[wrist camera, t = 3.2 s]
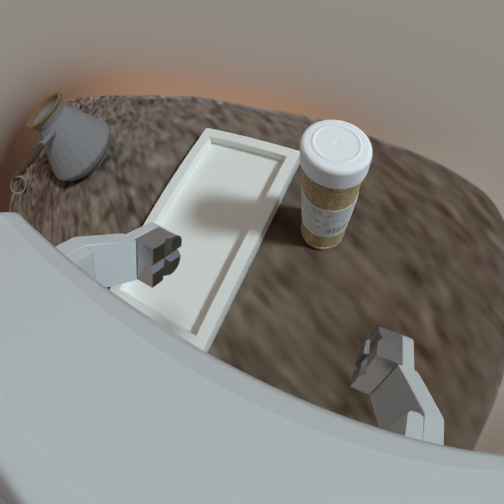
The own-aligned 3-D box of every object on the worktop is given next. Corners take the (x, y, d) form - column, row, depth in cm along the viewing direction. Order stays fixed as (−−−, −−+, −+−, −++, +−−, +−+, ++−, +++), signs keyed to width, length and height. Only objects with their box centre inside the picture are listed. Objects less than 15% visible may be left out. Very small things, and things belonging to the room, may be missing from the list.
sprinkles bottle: (338, 207, 28) (359, 114, 16) (348, 247, 27) (384, 168, 14) (295, 213, 29) (292, 120, 16) (304, 255, 27) (308, 177, 15)
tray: (207, 353, 26) (201, 353, 24) (116, 297, 29) (107, 294, 27) (301, 161, 31) (300, 151, 29) (210, 136, 34) (206, 127, 33)
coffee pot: (65, 153, 40) (16, 103, 26) (116, 120, 40) (72, 59, 26) (64, 257, 32) (-18, 211, 18) (128, 220, 32) (49, 149, 18)
